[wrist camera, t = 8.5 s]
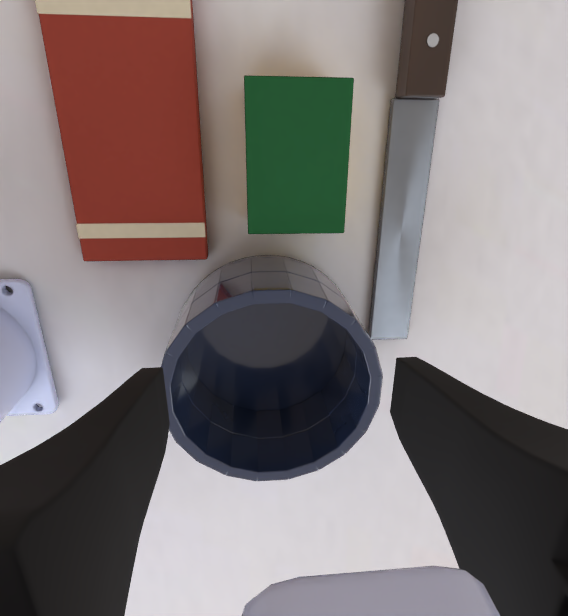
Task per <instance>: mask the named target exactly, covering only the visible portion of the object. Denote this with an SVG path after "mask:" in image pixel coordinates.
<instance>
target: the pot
mask: <svg viewBox="0 0 568 616" xmlns="http://www.w3.org/2000/svg"><path fill="white" fill-rule="evenodd" d="M161 367H163V374H164V382H165V389H166V397H167V405H168V413H169V421H170V426H169V431H170V432H171V434H172V436H173V438H174V440H175V441H176V443H178V444H179V445H180V446H181V447H182V448H183V449H184V450H185V451H186V452H187V453H188V454H189V455H191V456H192V457H193V458H194V459H195V460H196V461H198V462H199V463H201V464H203V465H205V466H207V467H210V468H212V469H214V470H216V471H218V472H220V473H222V474H224V475H226V476H231V477H236V478H242V479H247V480H252V481H270V480H287V479H288V478H289V479H291V478H295V477H298V476H301V475H304V474H308V473H311V472H314V471H318V469H322V468H323V467H325V466H326V465H328V464H330V463H331V462H333V461H335V460H336V459H338V458H340V457H341V456H343V455H344V454H345V453H347V452H348V451H349V450H350V449H351V448H352V447H353V445H354V444H355V443H356V442H357V441H358V440H359V439H360V438H361V437H362V436H363V435H364V434H365V433H366V431H367V429H368V427H369V425H370V423H371V421H372V419H373V417H374V415H375V413H376V411H377V409H378V407H379V404H380V396H381V387H382V378H383V376H382V370H381V366H380V362H379V358H378V354H377V350H376V347H375V345H374V343H373V341H372V340H371V338H370V336H369V335H368V333H367V332H366V330H365V328H364V327H363V325H362V324H361V322H360V320H359V319H358V317H357V316H356V314H355V312H354V311H353V309H352V308H351V306H350V304H349V303H348V301H347V300H346V299H345V297H344V296H343V294H342V293H341V291H340V290H339V288H338V287H337V286H336V284H335V283H334V282H333V281H332V280H330V279H329V278H328V277H327V276H326V275H325V274H324V273H322V272H321V271H319V270H318V269H316V268H314V267H313V266H311V265H309V264H306V263H304V262H302V261H299V260H296V259H293V258H289V257H283V256H274V255H261V256H252V257H247V258H242V259H239V260H236V261H233V262H230V263H228V264H226V265H224V266H222V267H220V268H218V269H217V270H215V271H214V272H212V273H211V274H209V275H208V276H207V277H206V278H205V279H204V280H203V281H201V282H200V283H199V285H198V286H197V287H196V288H195V289H194V290H193V292H192V293H191V295H190V296H189V298H188V300H187V301H186V303H185V305H184V306H183V308H182V310H181V312H180V315H179V318H178V320H177V323H176V325H175V328H174V330H173V333H172V336H171V338H170V341H169V343H168V346H167V349H166V351H165V354H164V358H163V361H162V365H161Z"/></svg>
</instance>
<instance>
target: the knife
mask: <svg viewBox="0 0 568 616" xmlns="http://www.w3.org/2000/svg"><path fill="white" fill-rule="evenodd" d="M457 4H458V0H405V7H404V17H403V28H402V38H401V48H400V58H399V68H398V78H397V89H396V98H394V99H391V106H390V116H389V127H388V137H387V148H386V158H385V169H384V180H383V190H382V201H381V211H380V222H379V232H378V243H377V253H376V264H375V275H374V285H373V296H372V306H371V317H370V327H369V336H370V338H371V340H380V339H407V337H408V329H409V322H410V314H411V307H412V299H413V292H414V284H415V277H416V270H417V262H418V255H419V247H420V240H421V232H422V225H423V218H424V210H425V203H426V195H427V188H428V180H429V173H430V165H431V158H432V151H433V143H434V136H435V128H436V121H437V113H438V106H439V99H436V98H441V97H444V96H445V90H446V83H447V76H448V69H449V62H450V54H451V47H452V40H453V33H454V25H455V18H456V11H457Z"/></svg>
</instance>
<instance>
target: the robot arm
mask: <svg viewBox="0 0 568 616" xmlns="http://www.w3.org/2000/svg"><path fill="white" fill-rule="evenodd" d="M6 286H9V287H11V288H12V290H13V293H10V292H8V291H7V289H6ZM37 404H40V405H42V407H39V406H38V405H37ZM58 406H59V401H58V397H57V393H56V389H55V385H54V380H53V376H52V372H51V368H50V364H49V359H48V355H47V351H46V347H45V343H44V338H43V334H42V330H41V326H40V322H39V317H38V313H37V309H36V305H35V300H34V296H33V292H32V288H31V286H30V284H29V283H28V282H27V281H25V280H23V279H0V422H1V421H2V420H3V419H4V418H5V416H10V415H34V414H51V413H54V412H55V411H56V410H57V408H58ZM390 413H391V416H392V419H393V422H394V425H395V428H396V431H397V433H398V436H399V439H400V441H401V443H402V445H403V447H404V449H405V451H406V453H407V455H408V457H409V459H410V461H411V462H412V464H413V466H414V468H415V470H416V472H417V474H418V476H419V478H420V479H421V481H422V483H423V485H424V487H425V489H426V491H427V493H428V495H429V496H430V498H431V500H432V502H433V504H434V506H435V509H436V511H437V513H438V515H439V517H440V520H441V522H442V525H443V527H444V530H445V532H446V535H447V537H448V540H449V542H450V545H451V547H452V550H453V552H454V555H455V558H456V560H457V563H458V566H459V568H460V569H456V568H448V567H439V566H426V567H414V568H402V569H390V570H378V571H366V572H353V573H341V574H329V575H317V576H305V577H297V578H294V579H290V580H286V581H282V582H279V583H275V584H271V585H270V586H269V587H267V588H266V589H265V590H263V591H262V592H261V593H259V594H258V595H257V596H255V597H254V598H253V599H252V600H250V601H249V602H248V603H247V604H246V605H245V608H244V611H243V614H242V616H568V429H565V428H562V427H559V426H556V425H553V424H550V423H547V422H545V421H542V420H540V419H537V418H534V417H532V416H530V415H527V414H525V413H523V412H520V411H518V410H515V409H513V408H511V407H509V406H506V405H504V404H502V403H500V402H498V401H496V400H494V399H492V398H490V397H488V396H486V395H484V394H482V393H480V392H478V391H477V390H475V389H473V388H471V387H469V386H467V385H466V384H464V383H462V382H460V381H458V380H457V379H455V378H453V377H451V376H450V375H448V374H446V373H445V372H443V371H441V370H439V369H438V368H436V367H434V366H432V365H431V364H429V363H427V362H425V361H423V360H421V359H419V358H417V357H404V358H397V359H396V367H395V375H394V384H393V392H392V401H391V409H390ZM169 426H170V421H169V413H168V405H167V397H166V389H165V382H164V374H163V367H160V368H142V369H140V370H139V371H138V372H136V373H135V374H134V375H133V376H132V377H131V378H129V379H128V380H127V381H126V382H125V383H124V384H122V385H121V386H120V387H119V388H118V389H116V390H115V391H114V392H113V393H112V394H110V395H109V396H108V397H107V398H106V399H104V400H103V401H102V402H101V403H99V404H98V405H97V406H95V407H94V408H93V409H91V410H90V411H89V412H87V413H86V414H85V415H83V416H82V417H81V418H79V419H78V420H77V421H75V422H74V423H73V424H71V425H70V426H68V427H67V428H65V429H64V430H62V431H61V432H59V433H58V434H56V435H54V436H53V437H51V438H49V439H48V440H46V441H45V442H43V443H41V444H39V445H38V446H36V447H34V448H32V449H30V450H29V451H27V452H25V453H23V454H21V455H19V456H17V457H15V458H13V459H12V460H10V461H8V462H6V463H4V464H2V465H0V616H124V614H125V609H126V603H127V598H128V593H129V587H130V582H131V577H132V571H133V567H134V562H135V557H136V552H137V547H138V542H139V537H140V533H141V530H142V526H143V522H144V519H145V516H146V512H147V509H148V506H149V503H150V500H151V497H152V493H153V490H154V487H155V484H156V481H157V477H158V474H159V471H160V468H161V464H162V461H163V458H164V454H165V450H166V444H167V438H168V432H169Z"/></svg>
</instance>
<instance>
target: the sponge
mask: <svg viewBox="0 0 568 616" xmlns="http://www.w3.org/2000/svg"><path fill="white" fill-rule="evenodd" d="M353 83H354V79H353V78H335V77H288V76H244V90H245V130H246V169H247V209H248V234H298V233H344V225H345V209H346V193H347V177H348V162H349V146H350V130H351V114H352V99H353Z"/></svg>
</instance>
